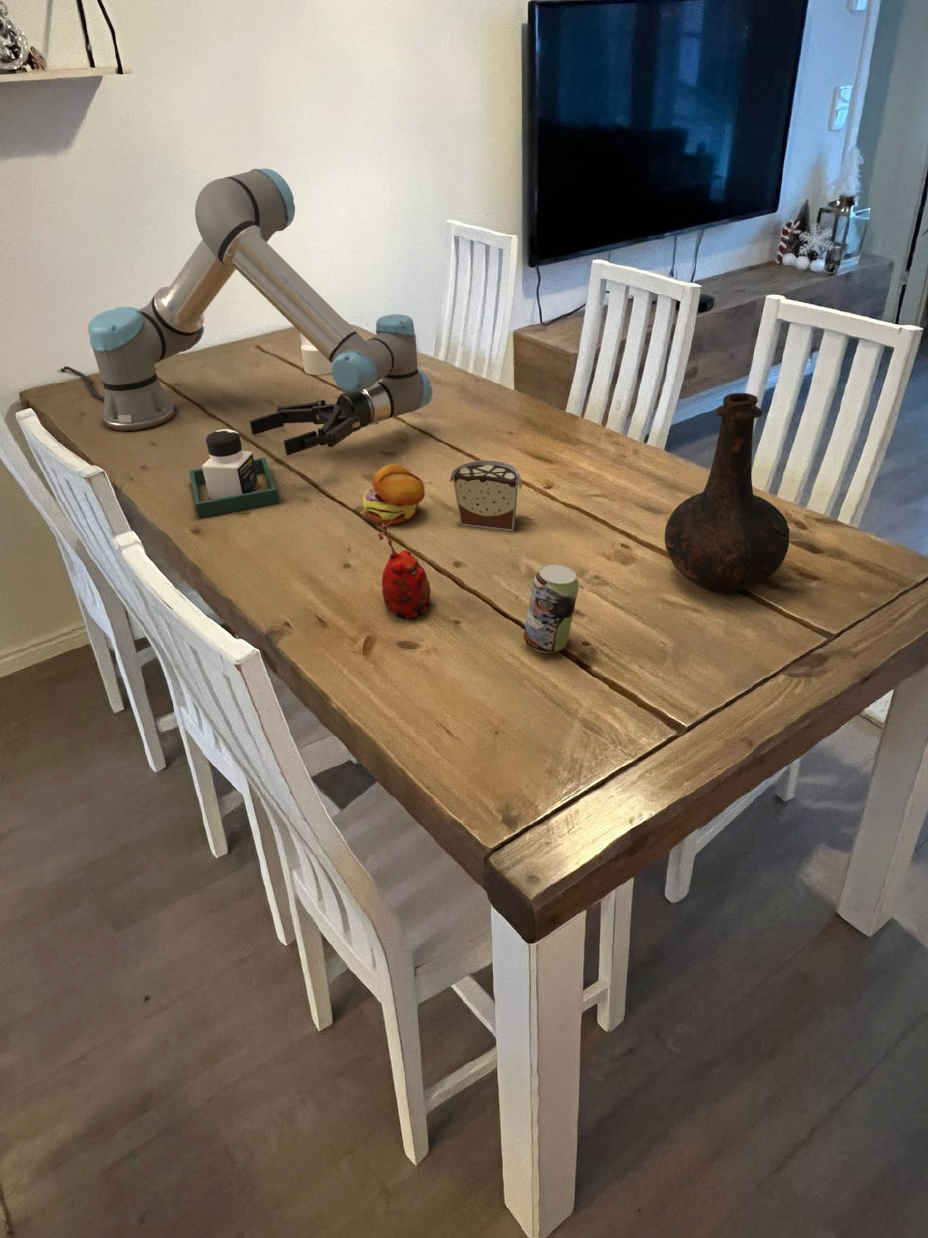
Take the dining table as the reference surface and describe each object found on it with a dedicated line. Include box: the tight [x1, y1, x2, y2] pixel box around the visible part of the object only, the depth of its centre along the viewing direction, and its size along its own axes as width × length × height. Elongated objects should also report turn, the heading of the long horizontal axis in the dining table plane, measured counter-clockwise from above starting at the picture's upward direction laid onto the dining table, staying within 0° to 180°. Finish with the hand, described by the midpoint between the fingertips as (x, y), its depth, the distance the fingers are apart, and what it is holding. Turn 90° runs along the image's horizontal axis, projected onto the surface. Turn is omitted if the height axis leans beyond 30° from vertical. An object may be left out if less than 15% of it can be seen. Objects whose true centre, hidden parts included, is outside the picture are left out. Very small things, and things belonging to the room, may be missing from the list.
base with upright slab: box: [299, 332, 332, 376], centre depth 225 cm, size 9×9×12 cm
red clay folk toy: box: [376, 519, 432, 620], centre depth 131 cm, size 8×7×15 cm
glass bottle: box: [664, 392, 790, 592], centre depth 130 cm, size 18×18×28 cm
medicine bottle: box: [201, 428, 259, 500], centre depth 168 cm, size 7×7×12 cm
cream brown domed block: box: [449, 459, 523, 532], centre depth 154 cm, size 12×6×10 cm, turn 71°
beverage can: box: [523, 563, 580, 654], centre depth 122 cm, size 6×7×12 cm
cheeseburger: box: [362, 463, 426, 525], centre depth 158 cm, size 10×11×10 cm
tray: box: [189, 457, 280, 519], centre depth 170 cm, size 16×15×3 cm
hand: (267, 437), depth 170 cm, fingers open, 13 cm apart
